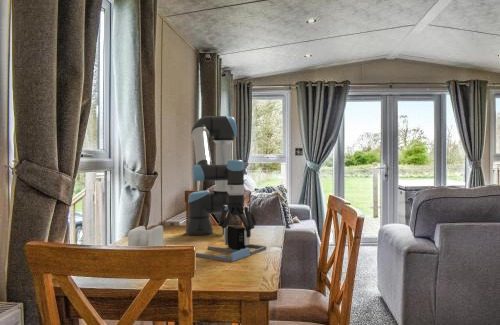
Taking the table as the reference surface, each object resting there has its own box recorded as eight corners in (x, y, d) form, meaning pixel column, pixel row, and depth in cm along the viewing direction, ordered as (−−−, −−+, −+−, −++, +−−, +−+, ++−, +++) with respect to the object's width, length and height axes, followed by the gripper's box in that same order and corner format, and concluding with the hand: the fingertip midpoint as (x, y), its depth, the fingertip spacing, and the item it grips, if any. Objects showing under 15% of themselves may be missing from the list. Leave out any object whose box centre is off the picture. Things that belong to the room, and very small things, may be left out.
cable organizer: (151, 259, 157) (151, 230, 157) (126, 259, 158) (126, 230, 159) (163, 251, 172) (163, 224, 172) (141, 250, 173) (140, 224, 173)
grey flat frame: (226, 243, 186) (226, 237, 186) (267, 248, 173) (267, 242, 173) (187, 255, 163) (187, 248, 163) (230, 262, 150) (230, 254, 150)
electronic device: (237, 251, 168) (236, 228, 169) (227, 247, 177) (227, 225, 177) (245, 250, 170) (245, 227, 170) (236, 246, 179) (235, 224, 179)
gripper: (210, 194, 177) (211, 242, 177) (252, 195, 164) (253, 247, 164) (220, 192, 184) (221, 239, 183) (262, 194, 171) (262, 244, 171)
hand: (236, 243), depth 174 cm, fingers closed on electronic device, 11 cm apart
